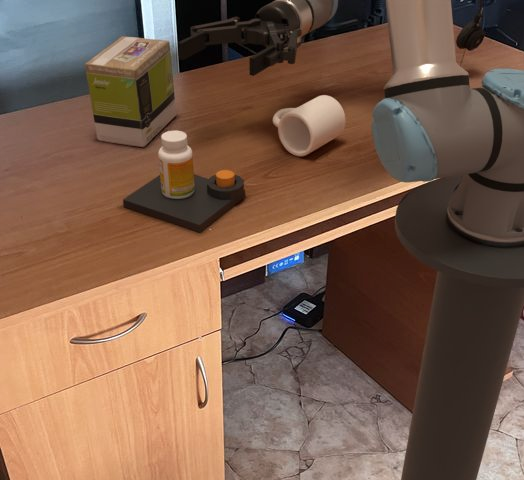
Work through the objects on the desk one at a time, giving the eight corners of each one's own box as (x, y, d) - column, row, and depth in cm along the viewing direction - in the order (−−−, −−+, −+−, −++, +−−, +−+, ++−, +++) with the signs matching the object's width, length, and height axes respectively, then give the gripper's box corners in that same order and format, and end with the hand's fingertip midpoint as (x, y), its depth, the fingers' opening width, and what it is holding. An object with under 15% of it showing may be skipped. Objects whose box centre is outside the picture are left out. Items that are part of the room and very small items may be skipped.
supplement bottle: (201, 189, 128) (198, 133, 122) (180, 203, 125) (176, 146, 118) (175, 180, 130) (171, 125, 124) (154, 193, 127) (149, 137, 121)
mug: (344, 143, 145) (347, 101, 140) (312, 162, 139) (314, 119, 134) (292, 125, 150) (293, 84, 145) (259, 143, 145) (259, 101, 139)
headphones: (394, 68, 173) (405, -29, 160) (428, 57, 179) (441, -39, 166) (448, 89, 164) (464, -13, 151) (482, 76, 170) (500, -23, 157)
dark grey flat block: (250, 195, 130) (250, 179, 128) (202, 233, 120) (201, 216, 119) (174, 172, 136) (173, 156, 134) (123, 207, 127) (121, 190, 125)
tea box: (131, 109, 156) (122, 33, 146) (177, 116, 153) (172, 39, 144) (95, 141, 145) (83, 61, 135) (144, 149, 143) (136, 68, 133)
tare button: (238, 182, 128) (238, 172, 126) (228, 190, 126) (227, 180, 124) (222, 177, 129) (222, 168, 128) (212, 185, 127) (212, 175, 126)
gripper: (343, 56, 137) (282, 97, 123) (224, 32, 147) (154, 67, 133) (346, 11, 132) (283, 48, 118) (222, -11, 142) (150, 21, 128)
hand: (215, 59), depth 125 cm, fingers open, 13 cm apart
